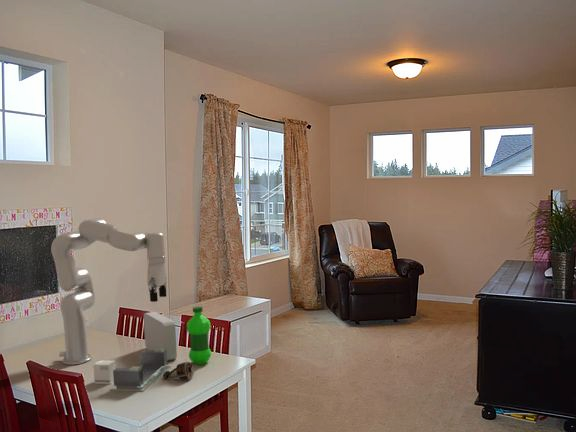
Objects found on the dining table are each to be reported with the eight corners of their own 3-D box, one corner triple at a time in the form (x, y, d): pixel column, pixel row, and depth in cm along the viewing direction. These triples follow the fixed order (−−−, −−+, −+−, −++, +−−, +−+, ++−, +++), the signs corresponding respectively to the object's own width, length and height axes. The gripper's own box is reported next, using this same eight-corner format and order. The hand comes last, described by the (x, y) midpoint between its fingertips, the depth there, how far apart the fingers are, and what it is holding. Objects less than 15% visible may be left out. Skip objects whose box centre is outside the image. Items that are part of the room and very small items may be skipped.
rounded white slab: (182, 359, 243) (179, 320, 242) (166, 362, 239) (163, 323, 238) (160, 345, 267) (158, 309, 266) (145, 348, 263) (143, 312, 262)
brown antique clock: (180, 372, 210) (197, 359, 218) (157, 365, 217) (174, 353, 225) (183, 388, 212) (199, 375, 220) (160, 380, 219) (176, 367, 227)
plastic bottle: (195, 358, 244) (192, 304, 242) (216, 359, 240) (213, 305, 239) (184, 365, 234) (181, 309, 233) (205, 367, 231) (202, 310, 229)
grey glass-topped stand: (110, 390, 209) (108, 368, 208) (141, 366, 235) (140, 347, 234) (143, 391, 206) (142, 369, 205) (171, 367, 232) (170, 348, 232)
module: (94, 383, 217) (93, 364, 216) (101, 379, 222) (100, 360, 221) (110, 384, 216) (109, 364, 215) (116, 379, 220) (115, 360, 220)
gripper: (156, 258, 243) (158, 295, 244) (139, 263, 226) (142, 303, 227) (171, 257, 242) (174, 294, 243) (156, 263, 225) (158, 303, 226)
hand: (158, 299), depth 235 cm, fingers open, 9 cm apart
